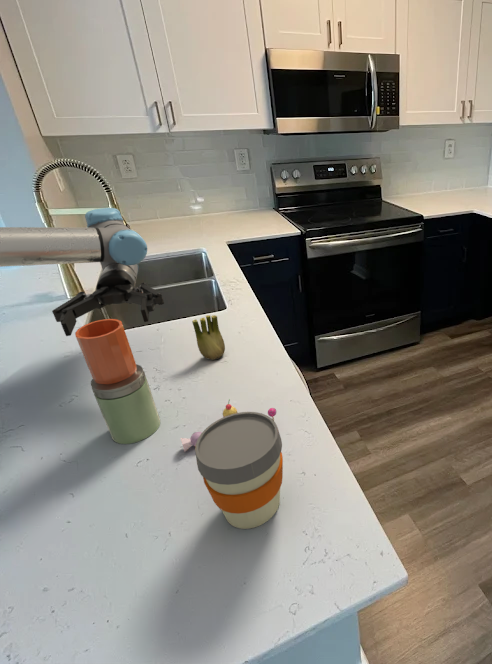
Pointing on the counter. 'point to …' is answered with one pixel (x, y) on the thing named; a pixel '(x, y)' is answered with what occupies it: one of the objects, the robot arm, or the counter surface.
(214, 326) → the fennel bulb
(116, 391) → the jar lid
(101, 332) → the cup
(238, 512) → the reusable coffee cup
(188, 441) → the candy
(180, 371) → the counter surface
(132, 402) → the jar
